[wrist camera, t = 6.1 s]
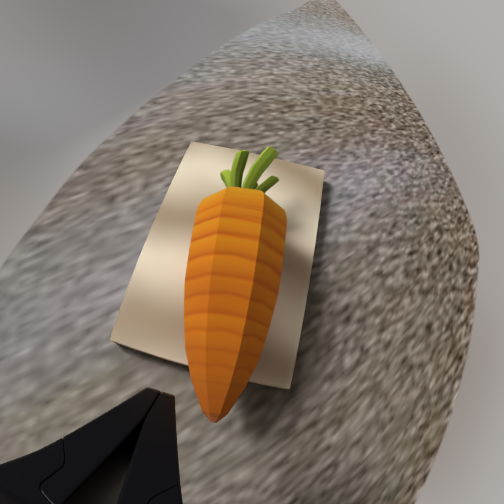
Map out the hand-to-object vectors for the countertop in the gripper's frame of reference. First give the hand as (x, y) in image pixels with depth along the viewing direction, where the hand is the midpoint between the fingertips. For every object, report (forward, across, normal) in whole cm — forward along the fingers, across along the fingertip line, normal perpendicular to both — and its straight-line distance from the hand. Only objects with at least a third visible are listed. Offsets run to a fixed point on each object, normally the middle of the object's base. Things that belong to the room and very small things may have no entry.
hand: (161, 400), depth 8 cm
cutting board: (+12, 0, -1) cm, 12 cm away
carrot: (+3, -2, +4) cm, 5 cm away
